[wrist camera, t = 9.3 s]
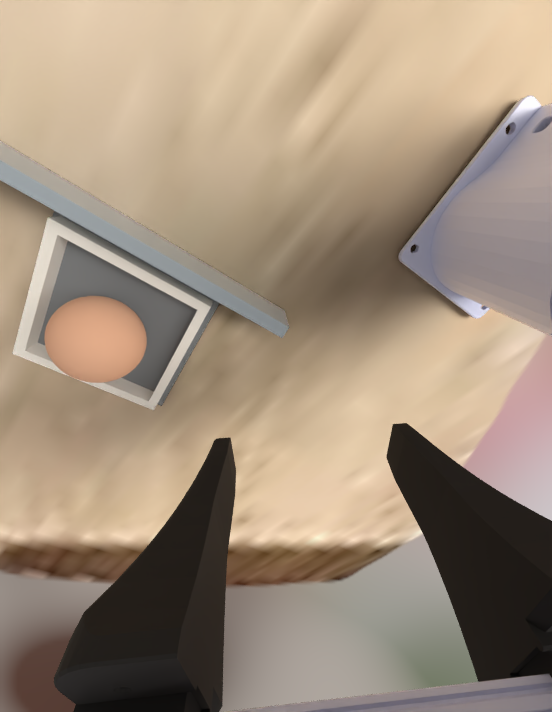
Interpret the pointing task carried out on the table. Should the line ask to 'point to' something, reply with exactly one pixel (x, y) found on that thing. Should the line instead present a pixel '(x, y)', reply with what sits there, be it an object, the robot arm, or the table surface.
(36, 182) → the low wall
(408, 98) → the table surface
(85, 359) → the ball
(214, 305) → the white square tray
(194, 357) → the table surface
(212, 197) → the table surface
